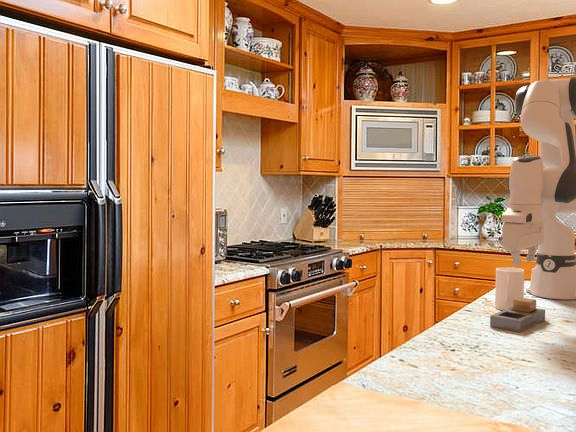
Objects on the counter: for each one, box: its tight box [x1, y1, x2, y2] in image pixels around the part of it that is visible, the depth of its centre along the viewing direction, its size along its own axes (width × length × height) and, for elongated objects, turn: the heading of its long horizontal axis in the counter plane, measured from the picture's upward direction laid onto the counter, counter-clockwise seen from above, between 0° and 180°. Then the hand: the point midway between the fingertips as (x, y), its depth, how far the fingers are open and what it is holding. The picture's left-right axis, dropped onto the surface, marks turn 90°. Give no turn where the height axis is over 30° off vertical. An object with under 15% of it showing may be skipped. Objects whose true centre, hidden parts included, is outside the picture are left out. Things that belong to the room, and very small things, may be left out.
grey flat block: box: [489, 307, 546, 333], centre depth 150 cm, size 17×8×3 cm, turn 135°
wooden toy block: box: [513, 297, 537, 314], centre depth 153 cm, size 4×4×6 cm
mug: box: [493, 266, 525, 311], centre depth 167 cm, size 12×8×12 cm
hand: (523, 263), depth 154 cm, fingers open, 8 cm apart
